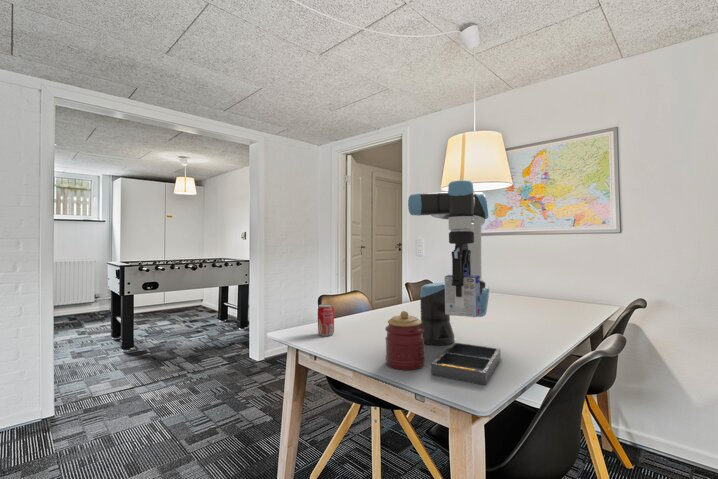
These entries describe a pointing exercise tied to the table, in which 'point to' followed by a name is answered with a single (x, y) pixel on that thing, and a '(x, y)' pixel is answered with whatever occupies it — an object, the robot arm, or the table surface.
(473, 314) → the ink cartridge box
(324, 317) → the soda can
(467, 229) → the robot arm
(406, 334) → the canister
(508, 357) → the table surface
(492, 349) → the tray
